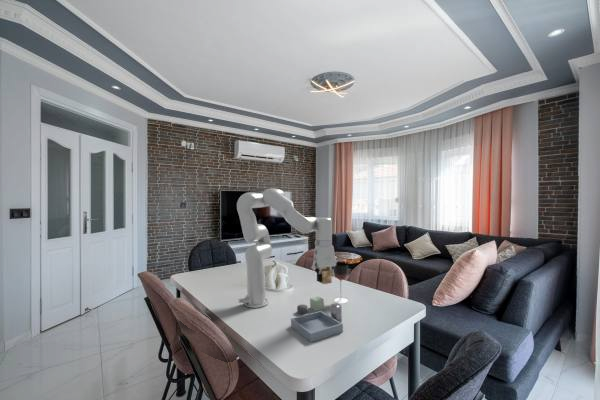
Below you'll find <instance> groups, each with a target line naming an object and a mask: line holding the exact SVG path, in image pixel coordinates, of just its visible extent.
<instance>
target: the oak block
mask: <svg viewBox="0 0 600 400" xmlns="http://www.w3.org/2000/svg"><path fill="white" fill-rule="evenodd" d="M321 274H322V282H319V281H317V282H318V283H320V284H323V285H326V284H331V283H333V282H332V279H333V278H332V277H333V276H332V274H333V270H330V269H327V268H322V271H321Z"/></svg>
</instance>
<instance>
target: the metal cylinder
mask: <svg viewBox="0 0 600 400" xmlns="http://www.w3.org/2000/svg"><path fill="white" fill-rule="evenodd" d="M342 307H343V306H342V304H341V303H331V304H330V307H329V308H330V317H332V318H334V319H335V320H337V321H339V322H340V323H342V322H343V319H342V313H343V312H342V310H343V309H342Z"/></svg>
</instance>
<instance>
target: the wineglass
mask: <svg viewBox="0 0 600 400" xmlns="http://www.w3.org/2000/svg"><path fill="white" fill-rule="evenodd" d="M348 270H349V264H348V263H346V262H339V261H337V262H336V266H335V267H334V268H333V270H332V272H333V275H334V277H335V278H337V279H338V280H339V297H338V298H337V297H336V298H335V299H334V300H333V301H334V302H335V303H336V304H346V303H348V302H349V301H348V299H346V298H344V297H342V295H343V293H342V281H343V280H345V279H346V278H347V276H348V272H349V271H348Z"/></svg>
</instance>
